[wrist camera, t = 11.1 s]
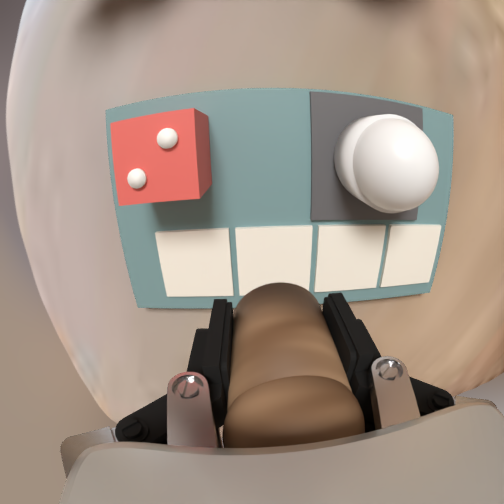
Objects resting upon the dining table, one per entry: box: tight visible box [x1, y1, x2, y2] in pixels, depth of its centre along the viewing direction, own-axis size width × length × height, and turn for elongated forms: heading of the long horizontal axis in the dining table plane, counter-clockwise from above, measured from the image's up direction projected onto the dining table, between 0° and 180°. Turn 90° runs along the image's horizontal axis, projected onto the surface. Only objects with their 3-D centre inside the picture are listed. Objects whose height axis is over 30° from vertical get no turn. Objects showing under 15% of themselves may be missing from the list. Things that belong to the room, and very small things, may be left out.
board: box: [106, 88, 453, 308], centre depth 14 cm, size 23×14×5 cm, turn 92°
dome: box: [334, 114, 439, 213], centre depth 12 cm, size 5×5×5 cm
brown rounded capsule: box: [223, 282, 365, 448], centre depth 8 cm, size 4×4×8 cm
